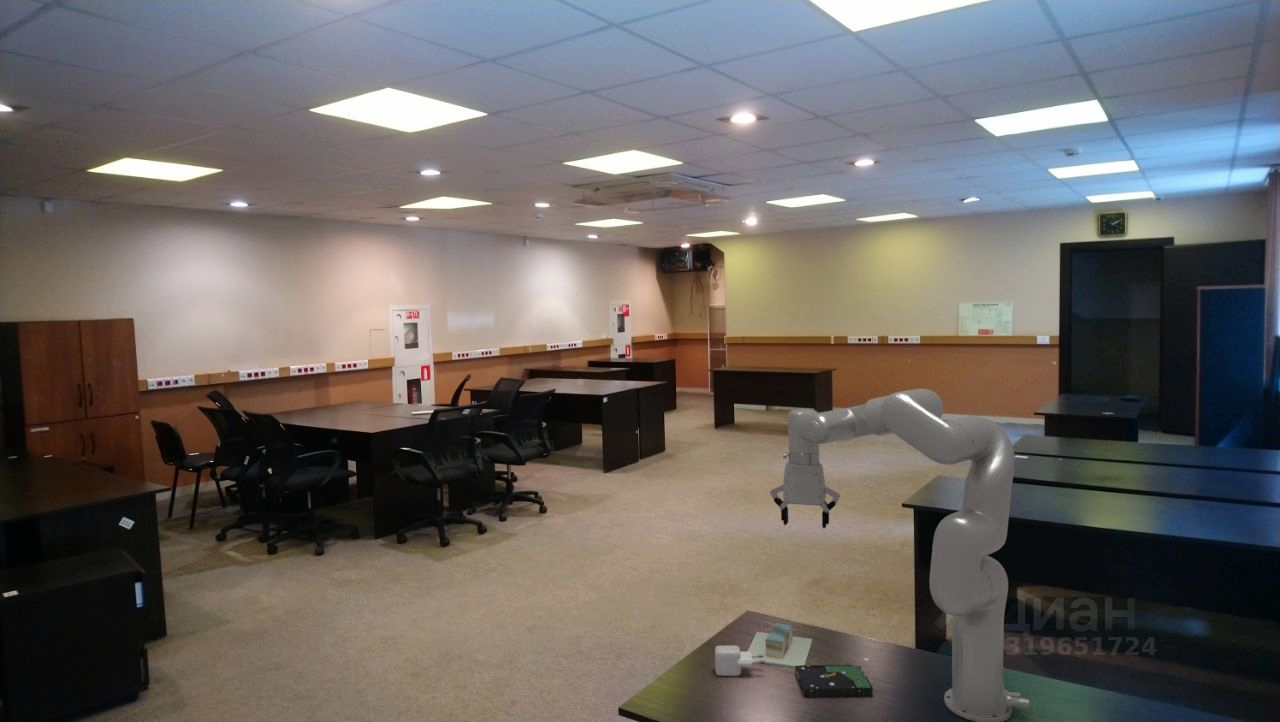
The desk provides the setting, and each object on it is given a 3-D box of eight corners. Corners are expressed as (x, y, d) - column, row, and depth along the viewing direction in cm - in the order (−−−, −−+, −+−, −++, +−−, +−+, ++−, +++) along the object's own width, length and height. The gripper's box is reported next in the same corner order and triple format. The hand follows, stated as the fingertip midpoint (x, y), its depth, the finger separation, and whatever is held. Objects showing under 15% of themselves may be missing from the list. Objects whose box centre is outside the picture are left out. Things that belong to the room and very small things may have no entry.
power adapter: (763, 667, 169) (762, 643, 168) (765, 678, 164) (764, 653, 163) (714, 667, 169) (714, 643, 169) (715, 678, 165) (715, 653, 164)
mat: (812, 641, 181) (812, 639, 181) (803, 669, 167) (803, 667, 167) (757, 634, 186) (756, 631, 186) (744, 660, 172) (744, 658, 172)
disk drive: (804, 701, 155) (873, 699, 155) (803, 688, 155) (873, 686, 154) (794, 676, 165) (860, 675, 165) (794, 665, 165) (860, 663, 165)
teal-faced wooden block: (782, 659, 171) (782, 642, 171) (765, 656, 173) (765, 639, 173) (792, 641, 180) (792, 625, 180) (776, 638, 182) (776, 622, 182)
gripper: (766, 459, 182) (768, 526, 183) (837, 463, 176) (838, 532, 177) (772, 454, 189) (773, 518, 190) (841, 456, 183) (841, 523, 184)
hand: (805, 525), depth 184 cm, fingers open, 9 cm apart
